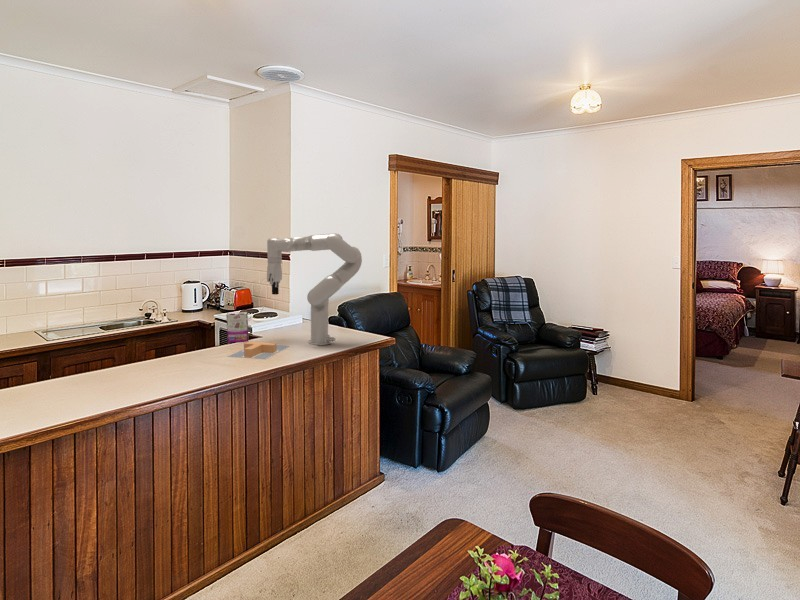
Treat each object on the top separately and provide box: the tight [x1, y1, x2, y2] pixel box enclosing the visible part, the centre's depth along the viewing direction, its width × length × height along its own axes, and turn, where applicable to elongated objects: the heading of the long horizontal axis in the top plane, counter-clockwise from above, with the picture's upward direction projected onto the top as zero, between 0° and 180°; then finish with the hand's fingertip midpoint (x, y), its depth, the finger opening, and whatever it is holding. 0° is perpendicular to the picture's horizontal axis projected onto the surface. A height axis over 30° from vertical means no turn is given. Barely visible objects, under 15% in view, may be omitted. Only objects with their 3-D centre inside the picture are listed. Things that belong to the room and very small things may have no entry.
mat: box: [227, 344, 291, 360], centre depth 266 cm, size 20×30×1 cm, turn 169°
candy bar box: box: [225, 311, 249, 344], centre depth 288 cm, size 11×5×16 cm, turn 105°
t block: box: [243, 341, 278, 357], centre depth 260 cm, size 16×15×4 cm
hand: (275, 294), depth 285 cm, fingers closed
